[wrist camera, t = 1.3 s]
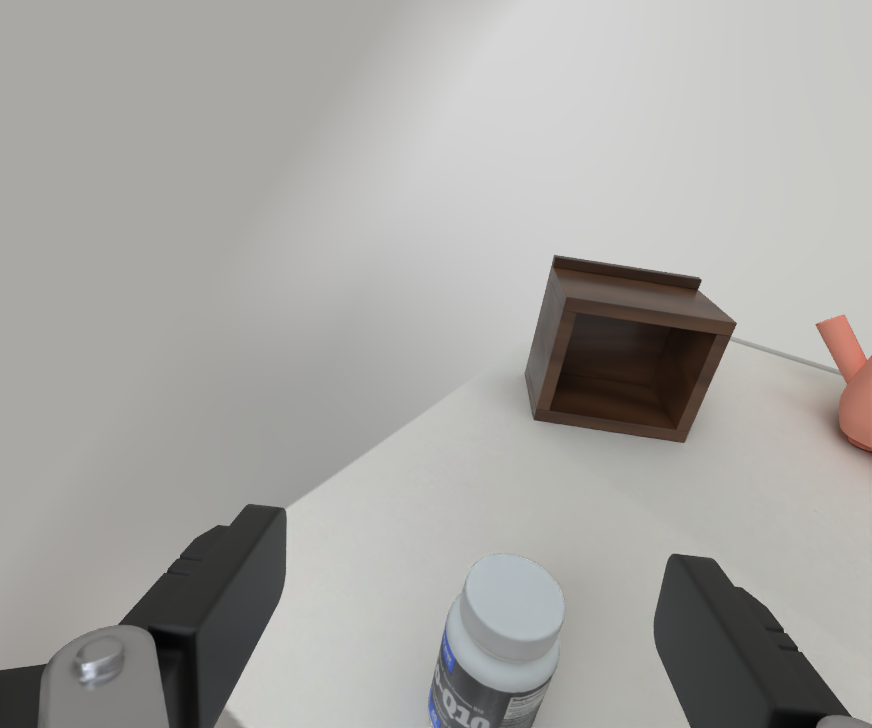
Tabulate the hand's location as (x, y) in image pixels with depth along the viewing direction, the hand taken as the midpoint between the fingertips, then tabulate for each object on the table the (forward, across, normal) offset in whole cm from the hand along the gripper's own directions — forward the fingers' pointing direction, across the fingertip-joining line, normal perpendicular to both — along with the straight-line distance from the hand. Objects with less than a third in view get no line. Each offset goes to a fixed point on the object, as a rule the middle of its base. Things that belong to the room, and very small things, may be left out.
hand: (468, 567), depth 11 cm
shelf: (+40, -14, +9) cm, 44 cm away
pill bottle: (+10, -2, +15) cm, 18 cm away
